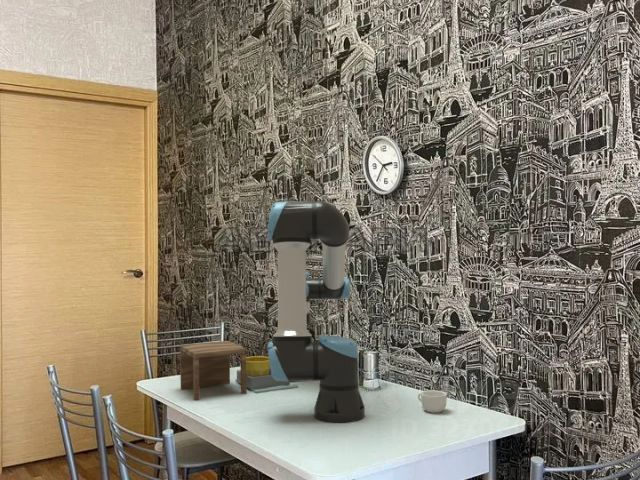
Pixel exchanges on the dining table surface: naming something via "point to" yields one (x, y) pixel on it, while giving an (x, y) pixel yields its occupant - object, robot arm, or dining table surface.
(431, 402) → the teacup
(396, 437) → the dining table surface
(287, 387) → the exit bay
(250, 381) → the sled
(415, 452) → the dining table surface
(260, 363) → the plant pot
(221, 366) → the tunnel
